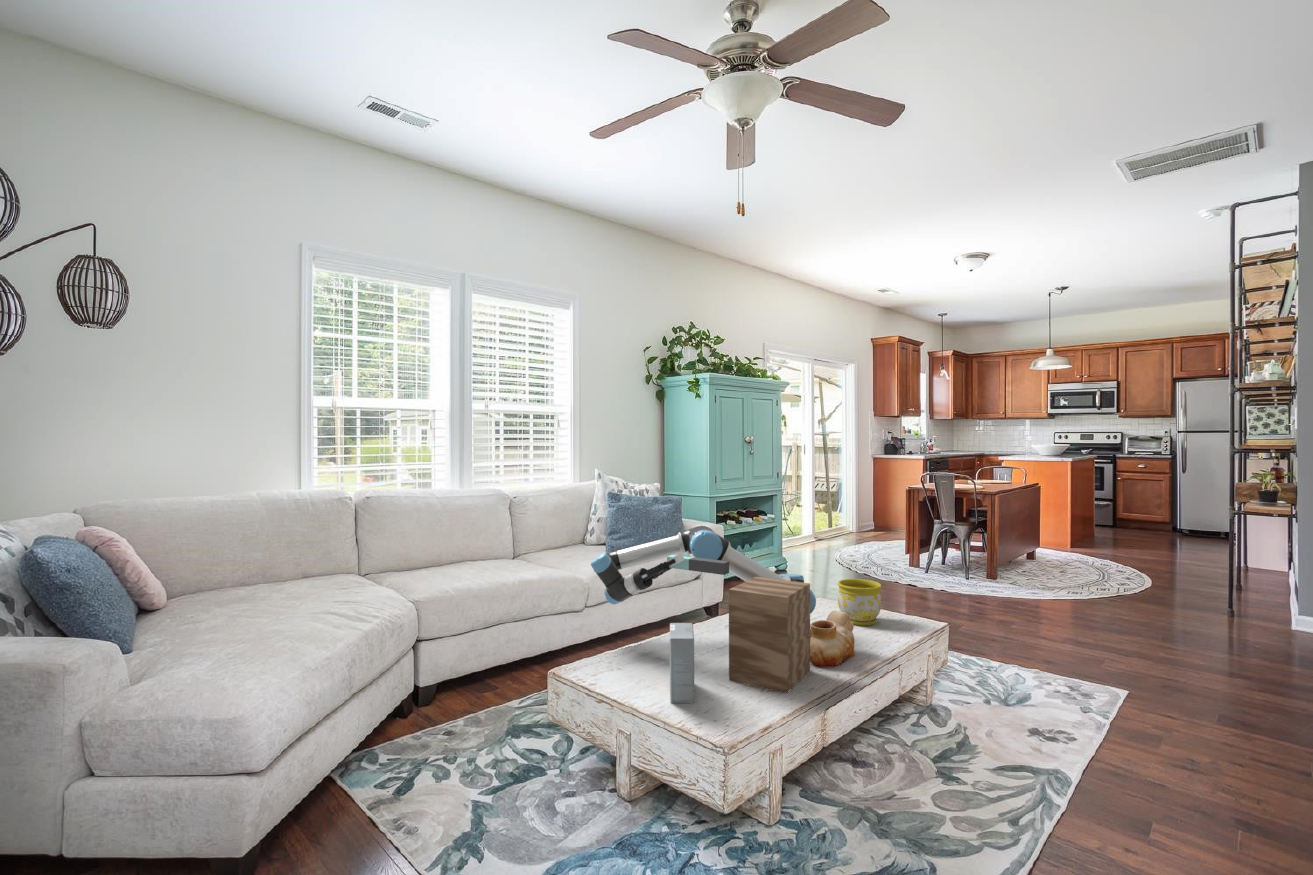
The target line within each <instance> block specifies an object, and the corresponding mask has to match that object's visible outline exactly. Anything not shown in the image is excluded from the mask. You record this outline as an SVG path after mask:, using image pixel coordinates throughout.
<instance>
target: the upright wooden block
mask: <svg viewBox="0 0 1313 875" xmlns="http://www.w3.org/2000/svg"><path fill="white" fill-rule="evenodd" d="M810 590H811V582H810V583H809V582H804V583H803V582H795V581H787V580H779V579H771V578H763V577H754V578H752V579H750V580H748V581H743V582H741V583H739V584H737V585H736V586H734V587H731V588H729V589H728V681H730V682H734V683H739V684H744V685H747V684H748V686H752V687H757V688H761V689H767V690H770V689H772V690H771V691H775V690H776V691H775V692H779V691H781V692H780V693H784V692H786V693H785V694H788V693H789V692H790V691H791V690H793V688H794V687H795V686H796V685H797V684H799V683H800V682H801V681H802V680H803V679H804V678H805V677H806V676H807V675H808V674H809V673H810V672H811V662H810V638H811V628H810V624H811V614H810ZM805 675H806V676H805ZM803 677H804V678H803ZM790 689H791V690H790ZM789 690H790V691H789ZM788 691H789V692H788ZM787 692H788V693H787Z"/></svg>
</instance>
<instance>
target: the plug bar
mask: <svg viewBox="0 0 1313 875" xmlns="http://www.w3.org/2000/svg"><path fill="white" fill-rule="evenodd" d="M675 556H677V555H670V556H667V557H666V561H667V560H669V559H671V558H673V557H675ZM683 557H684V561H682V562H680V563H678V564H676V565H674V566H673V567H671V568H672V569H676V570H684V571H692V572H698V573H699V572H700V573H706V574H713V575H722V576H725V575H727V574H729V573H730V572H729V561H721V560H713V559H704V558H696V557H694V556H691V557H687V556H683ZM669 568H670V566H669Z"/></svg>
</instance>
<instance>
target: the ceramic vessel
mask: <svg viewBox="0 0 1313 875" xmlns="http://www.w3.org/2000/svg"><path fill="white" fill-rule="evenodd" d="M854 628H855V625H853V623H852V622H851V621H850V620H849V615H848V614H847V613H845V612H841V611H837V610H832V611H830V612H829V614H828V615H827V618H826V619H825V620H824V619H820V620H815V621H812V622H810V664H812V666H815V667H817V668H826V667H834V668H835V667H838V666H841V665H842V664H843V663H845V661H846V660H848V659H851V658H853V657H854V656H855V650H854V649H855V635H854V633H853V631H854Z"/></svg>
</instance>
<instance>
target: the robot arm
mask: <svg viewBox="0 0 1313 875" xmlns="http://www.w3.org/2000/svg"><path fill="white" fill-rule="evenodd" d="M670 555H677V556H675V557H673V558H671V559H669V560H667V556H670ZM691 555H692V556H691ZM683 556H687V557H696V558H704V559H713V560H721V561H729V573H730V574H733V575H734V576H736V577H737V578H740V579H741V580H743V582H745V581H748V580H750V579H752V578H754V577H763V578H771V579H779V580H787V581H795V582H803V583H805V578H804V577H805V576H804V575H803V574H796V573H794V574H793V573H785V574H784V573H781V574H778V573H776V572H774V571H772V570H770V569H769V568H767V567H766V566H764V565H762V564H761V563H759V562H757V561H756V560H754V559H752V558H750V557H749V556H747V555H746V554H743V553H742V552H740V551H739V550H737V549H735V548H734V547H732V546H731V542H730V541H729V540H728V539H726V538H724V537H723V536H721V535H719V534H717V533H716V532H715V531H714V530H713V529H712V528H710V527H708V526H705V525H699V526H694V527H692V528H689V529H686V530H681V531H678V533H677V534H676V535H673V536H670V537H666V538H660V539H657V540H654V541H649V542H645V543H641V544H638V545H634V546H629V547H626V548H623V549H619V550H615V551H605V552H603V553H601V554H599V555H598V556H597V557H595V558H594V559H593V560H592V561H591V562H590V566H591V568H592V570H593V571H594V573H595V574H596V575H597V576H598V578H599V579H600V581H601V582H602V583H603V585H604V587H605V590H604V596H605V599H606V601H607V602H608V604H611V605H617V604H620V603H623V602H624V601H625V600H628V599H629V598H632V596H636V595H637V596H639V594H640V592H643V591H644V590H646V589H648V588H650V587H651V586H653V583H654V582H653V580H655V579H658V578H659V577H660V576H662V575H664V573H666V572H668V571H670V570H671V569H673V568H671V567H673V566H674V565H676V564H678V563H680V562H682V561H684V557H683ZM661 559H666V561H663V562H660V563H659V564H658V565H655V566H653V567H651V568H648V569H647V568H644V567H643V568H642V567H641V568H639V569H637V570H635V571H634V572H632V573H630V574H628V575H626V576H625V577H624V576H623V575H622V574H621V572H620V570H623V569H627V568H631V567H635V566H638V565H642V564H645V563H650V562H654V561H657V560H661ZM669 566H670V568H669ZM816 606H817V599H816V595H815V593H814V592H813V590H811V589H810V615H811V614H812V613H813V612H814V610H815V608H816Z"/></svg>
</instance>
